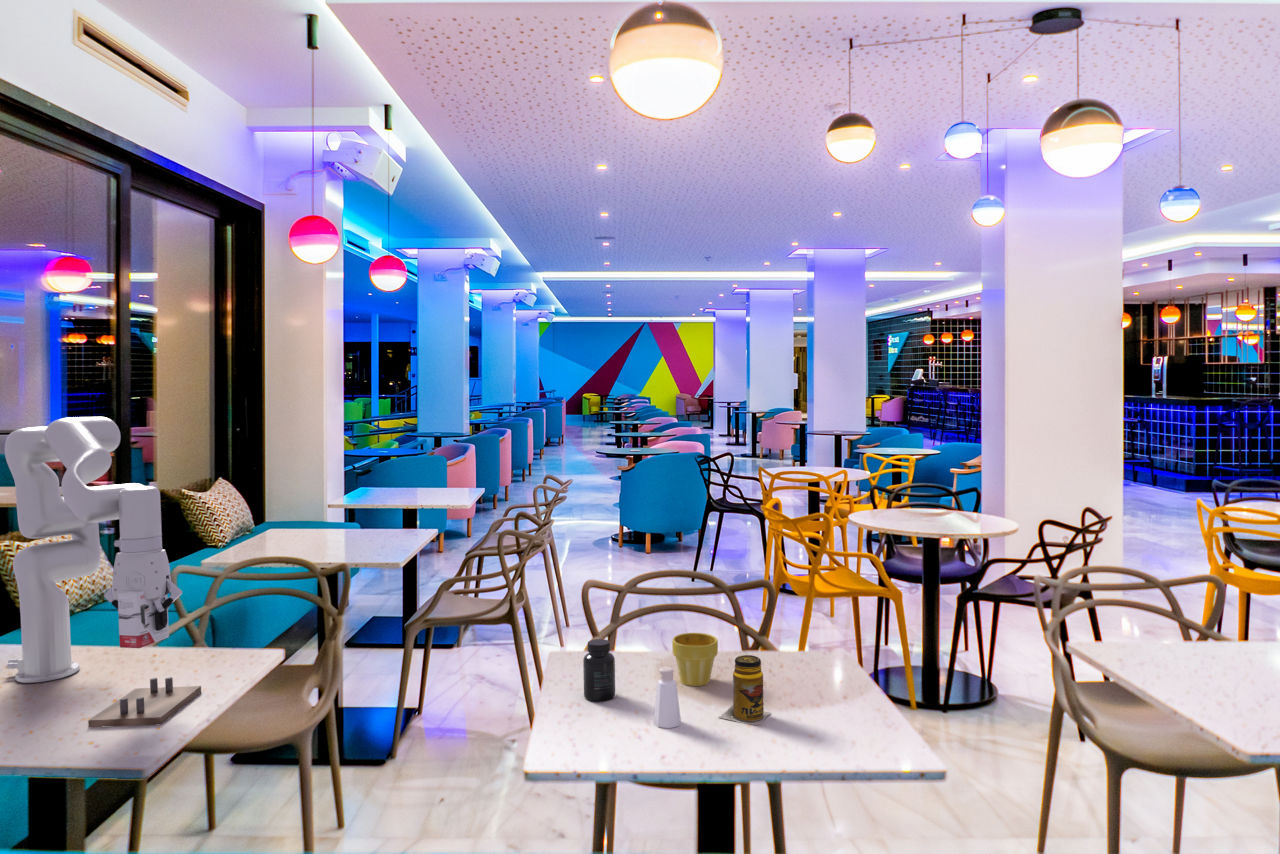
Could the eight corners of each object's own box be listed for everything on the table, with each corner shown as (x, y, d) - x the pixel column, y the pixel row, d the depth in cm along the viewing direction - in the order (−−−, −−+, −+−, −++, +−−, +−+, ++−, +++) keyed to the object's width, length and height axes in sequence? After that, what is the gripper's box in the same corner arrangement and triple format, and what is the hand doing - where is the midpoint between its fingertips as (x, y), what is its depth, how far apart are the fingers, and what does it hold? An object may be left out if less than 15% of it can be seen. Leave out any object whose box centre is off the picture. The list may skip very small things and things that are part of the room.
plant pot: (726, 685, 184) (725, 642, 184) (684, 692, 181) (683, 648, 180) (705, 671, 194) (705, 630, 194) (665, 677, 190) (665, 635, 190)
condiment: (757, 726, 162) (757, 666, 161) (718, 718, 166) (717, 659, 165) (770, 713, 168) (770, 655, 167) (732, 706, 172) (731, 649, 172)
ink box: (138, 649, 170) (136, 592, 169) (118, 648, 171) (116, 592, 170) (170, 637, 178) (168, 583, 178) (151, 636, 179) (148, 582, 179)
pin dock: (88, 727, 166) (87, 705, 165) (136, 695, 184) (135, 675, 183) (160, 724, 167) (160, 702, 167) (201, 692, 185) (200, 672, 184)
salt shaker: (679, 717, 166) (679, 663, 166) (682, 728, 161) (681, 672, 161) (653, 718, 166) (652, 664, 166) (654, 729, 161) (653, 673, 160)
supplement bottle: (583, 691, 182) (582, 637, 181) (614, 690, 182) (613, 636, 182) (583, 703, 175) (582, 647, 174) (616, 701, 175) (615, 646, 175)
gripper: (88, 549, 169) (91, 636, 170) (175, 547, 171) (178, 633, 171) (108, 543, 177) (112, 626, 178) (192, 540, 178) (195, 623, 179)
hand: (144, 628), depth 174 cm, fingers closed on ink box, 5 cm apart
